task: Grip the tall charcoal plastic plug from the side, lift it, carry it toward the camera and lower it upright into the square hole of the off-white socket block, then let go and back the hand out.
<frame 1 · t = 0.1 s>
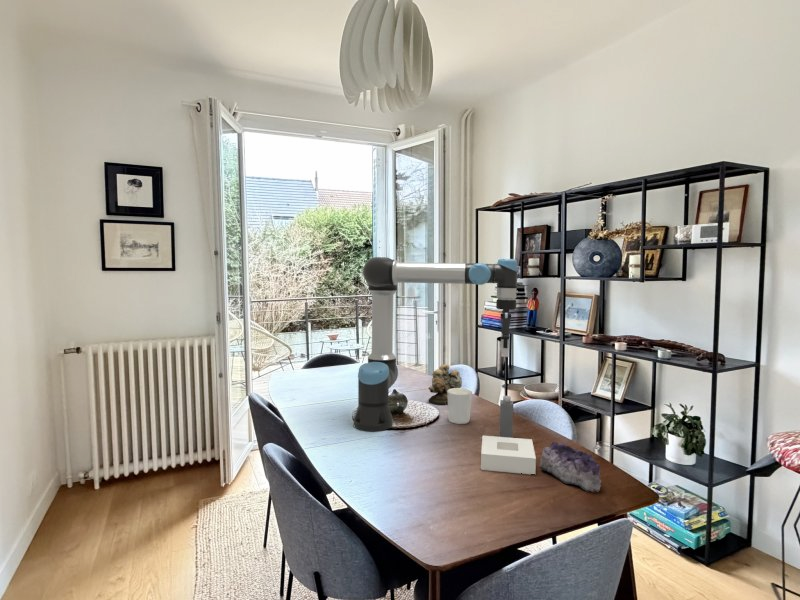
hand: (504, 353, 186), 28 cm above the table, fingers open, 13 cm apart
geode: (571, 478, 141), on the table
candle holder: (458, 421, 191), on the table
socket block: (507, 461, 152), on the table
olive rock sculpture: (445, 401, 218), on the table
plug: (505, 437, 173), on the table
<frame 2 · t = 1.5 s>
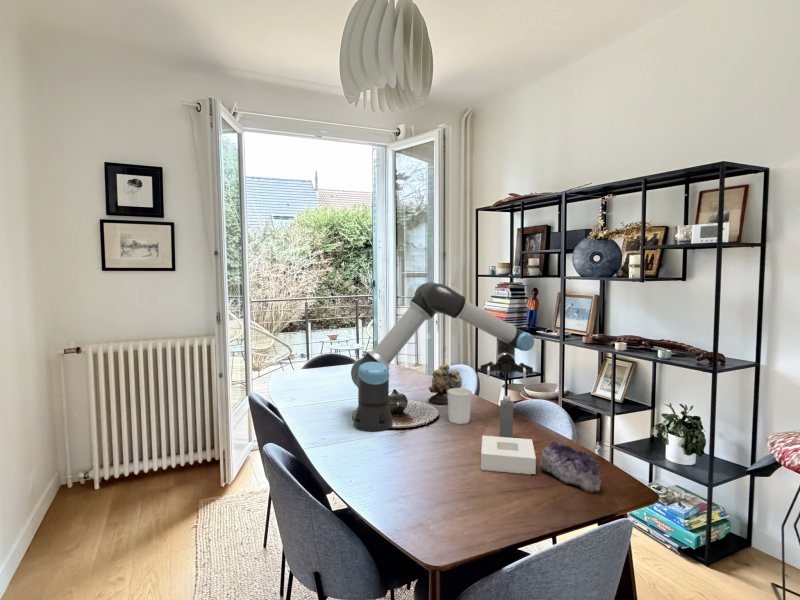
hand: (506, 374, 183), 21 cm above the table, fingers open, 13 cm apart
nothing on the table moved.
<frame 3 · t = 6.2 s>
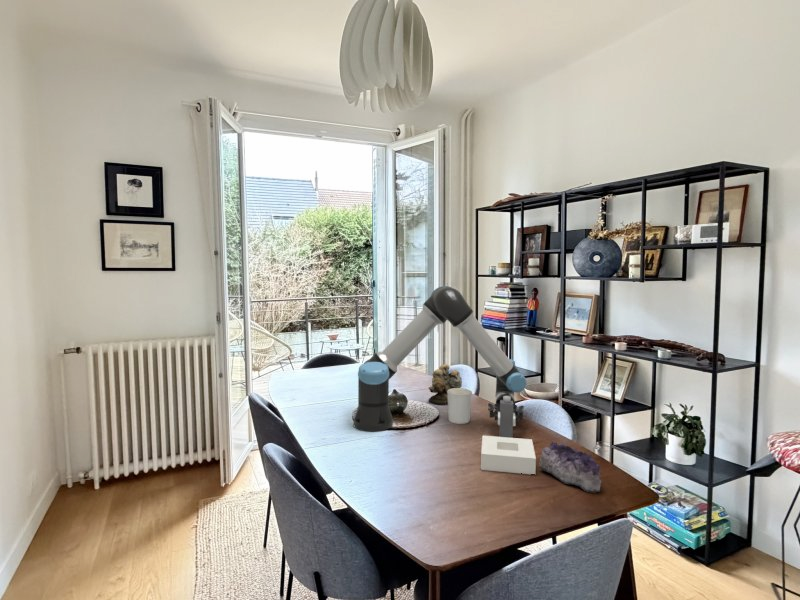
hand: (506, 421, 167), 8 cm above the table, fingers closed on plug, 4 cm apart
plug: (505, 437, 173), on the table, touching gripper
everything else where it was.
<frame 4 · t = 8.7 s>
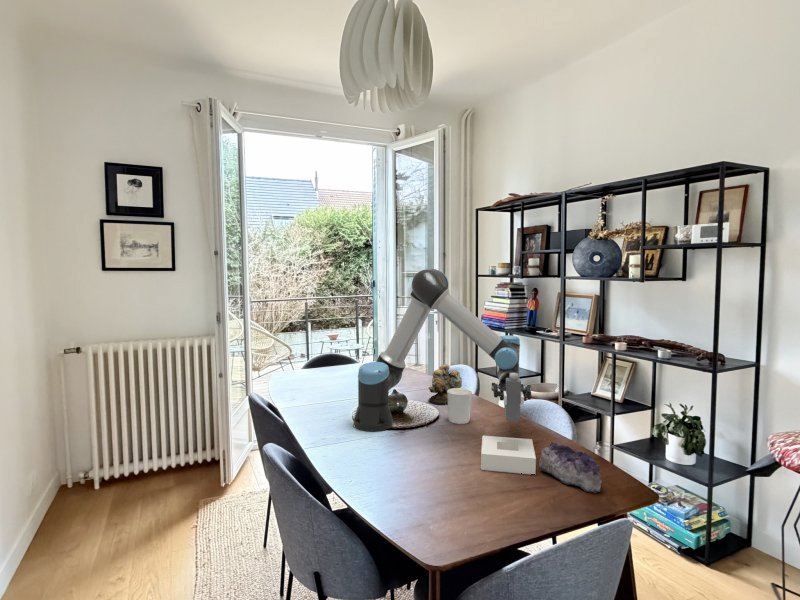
hand: (514, 400, 150), 20 cm above the table, fingers closed on plug, 4 cm apart
plug: (512, 419, 156), point 12 cm above the table, touching gripper
everything else where it was.
when the fingers open (10 cm above the table, at t = 11.2 s): plug drops 1 cm, resting on socket block.
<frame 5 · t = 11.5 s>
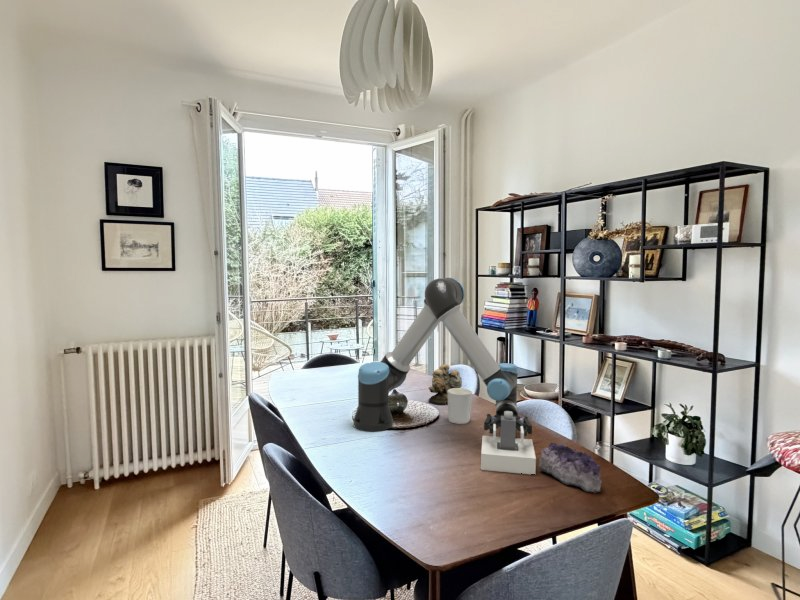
hand: (508, 436, 146), 10 cm above the table, fingers open, 8 cm apart
plug: (507, 458, 152), point 1 cm above the table, touching socket block
everything else where it was.
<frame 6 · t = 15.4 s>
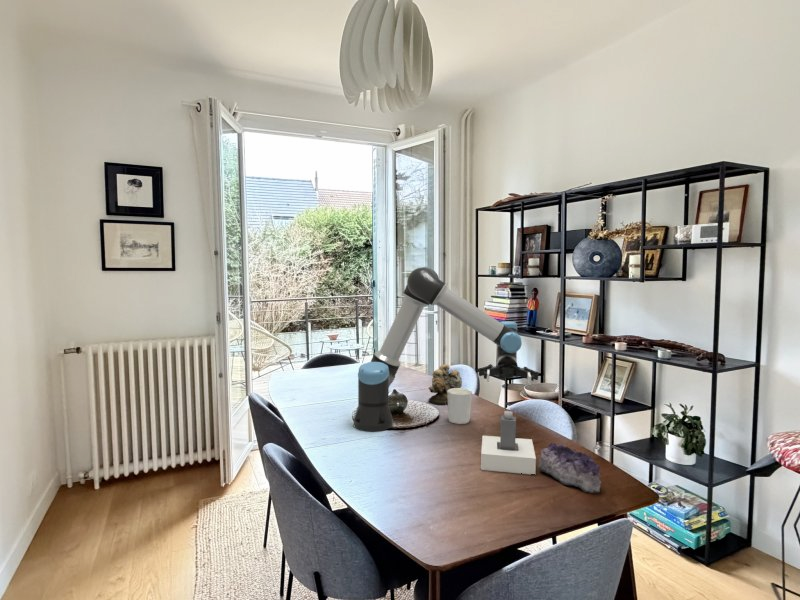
hand: (508, 379, 159), 24 cm above the table, fingers open, 13 cm apart
nothing on the table moved.
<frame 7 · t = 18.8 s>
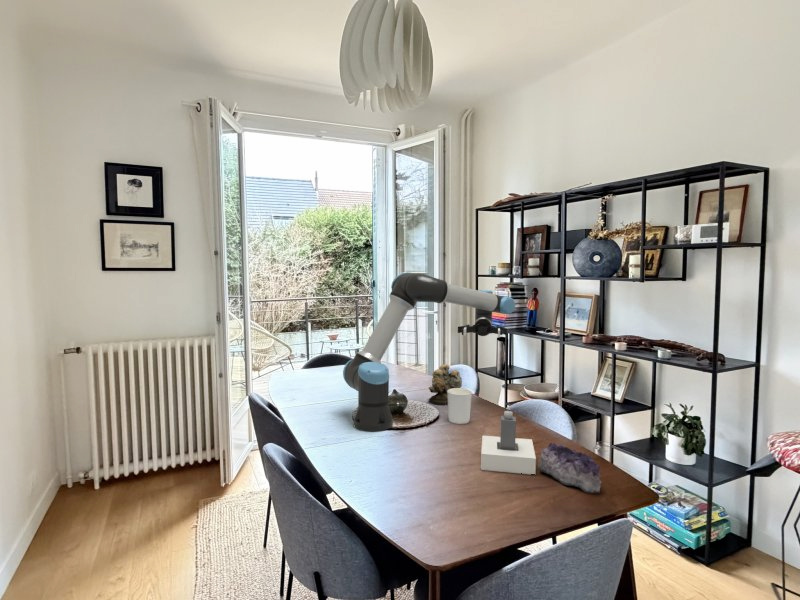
hand: (481, 333, 191), 35 cm above the table, fingers open, 13 cm apart
at the end: plug 0.0 cm off-centre on the socket block, point 1.0 cm above the socket block's base; plug tilted 0°; the gripper is holding nothing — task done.
